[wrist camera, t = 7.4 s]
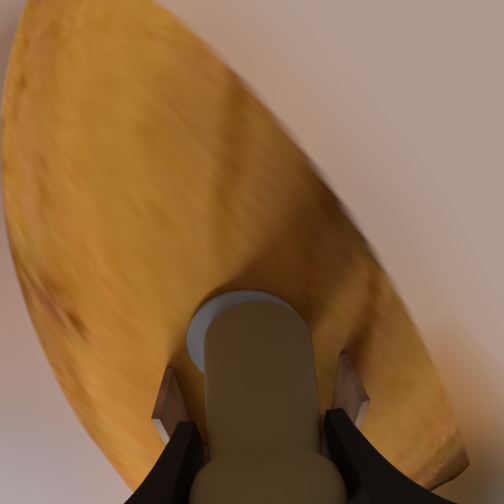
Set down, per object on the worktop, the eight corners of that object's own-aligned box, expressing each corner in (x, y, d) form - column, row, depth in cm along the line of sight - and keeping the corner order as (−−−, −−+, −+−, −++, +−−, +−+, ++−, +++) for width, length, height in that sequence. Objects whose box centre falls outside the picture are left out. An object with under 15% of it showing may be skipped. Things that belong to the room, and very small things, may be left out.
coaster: (302, 375, 18) (304, 381, 17) (199, 383, 18) (198, 389, 17) (304, 283, 15) (306, 288, 15) (177, 293, 15) (175, 298, 15)
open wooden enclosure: (330, 437, 21) (341, 475, 16) (197, 448, 20) (193, 488, 16) (346, 352, 17) (370, 400, 13) (165, 368, 17) (151, 418, 13)
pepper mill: (262, 397, 16) (273, 557, 6) (182, 350, 15) (137, 534, 5) (333, 339, 15) (403, 517, 5) (252, 277, 14) (265, 517, 3)
